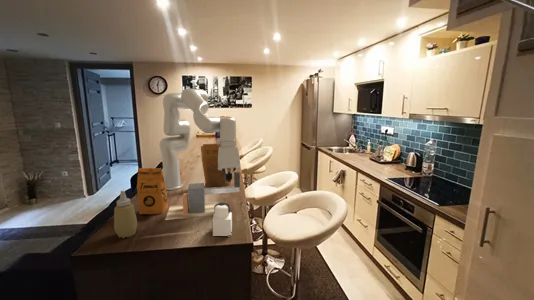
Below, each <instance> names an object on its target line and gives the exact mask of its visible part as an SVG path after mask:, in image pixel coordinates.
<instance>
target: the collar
mask: <svg viewBox="0 0 534 300" xmlns="http://www.w3.org/2000/svg"><path fill="white" fill-rule="evenodd" d="M182 205H183V214H188V210H189V197H188V192H187V193H186V192H185V193H183V197H182Z"/></svg>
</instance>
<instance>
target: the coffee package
mask: <svg viewBox="0 0 534 300" xmlns="http://www.w3.org/2000/svg"><path fill="white" fill-rule="evenodd" d="M136 183H137V184H136V192H137V199H138V200H137V202H138V209H139V210H138V214H139V215H151V216H152V215H157V214H159V215H160V214H164V213H165V212H166V211H168V210H169V208H168V207H169V205H168V202H169V201H168V200H169V199H168V194H167V190H166V185H165V181H164V175H163V168H162V167H160V168H159V167H155V168H154V167H138V168H137V180H136Z"/></svg>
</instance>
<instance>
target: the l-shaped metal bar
mask: <svg viewBox="0 0 534 300" xmlns="http://www.w3.org/2000/svg"><path fill="white" fill-rule="evenodd" d="M233 180H234V182H233V185H228V186H217V187H204V195H217V194H228V193H230V194H231V193H240V188H241V187H240V186H241V178H240V171H234V172H233Z"/></svg>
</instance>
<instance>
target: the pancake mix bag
mask: <svg viewBox="0 0 534 300" xmlns="http://www.w3.org/2000/svg"><path fill="white" fill-rule="evenodd" d="M219 147H220V145H217V142H216V143H204V144H202V145H200V155H201V163H202V170H203V171H202V172H203V176H204V180H205V182H204V187H206V188H214V187H228V186H231V182H230V181H229V182H228V181H227V180H226V173H225V172H224V171H222V170H218V150H219ZM227 170H228V172H229V171H230V168H227Z"/></svg>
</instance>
